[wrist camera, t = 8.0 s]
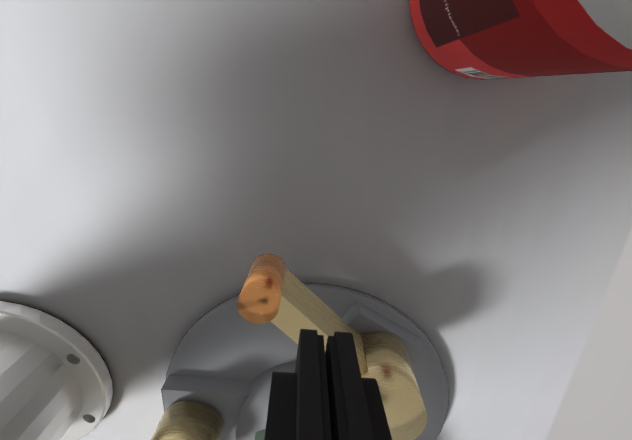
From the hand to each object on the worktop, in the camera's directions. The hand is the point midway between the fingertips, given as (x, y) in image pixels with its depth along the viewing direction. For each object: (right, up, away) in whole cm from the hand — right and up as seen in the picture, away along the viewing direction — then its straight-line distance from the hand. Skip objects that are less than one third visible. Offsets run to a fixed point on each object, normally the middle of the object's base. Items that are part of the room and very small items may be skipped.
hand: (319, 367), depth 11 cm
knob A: (+1, -1, +8) cm, 8 cm away
